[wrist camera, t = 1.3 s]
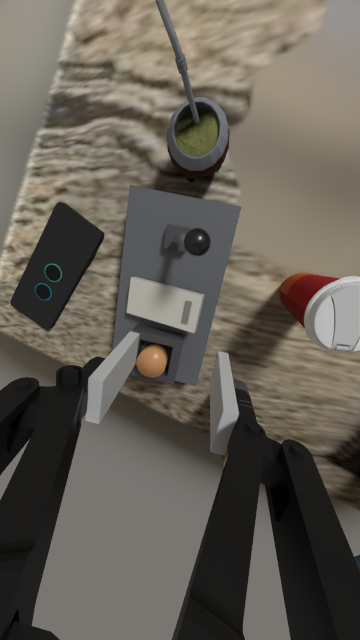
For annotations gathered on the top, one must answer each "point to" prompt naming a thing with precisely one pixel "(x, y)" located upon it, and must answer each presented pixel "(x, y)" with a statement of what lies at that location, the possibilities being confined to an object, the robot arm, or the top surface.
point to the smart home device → (56, 265)
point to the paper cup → (325, 309)
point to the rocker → (164, 304)
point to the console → (173, 272)
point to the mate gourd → (194, 123)
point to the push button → (152, 360)
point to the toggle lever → (194, 241)
